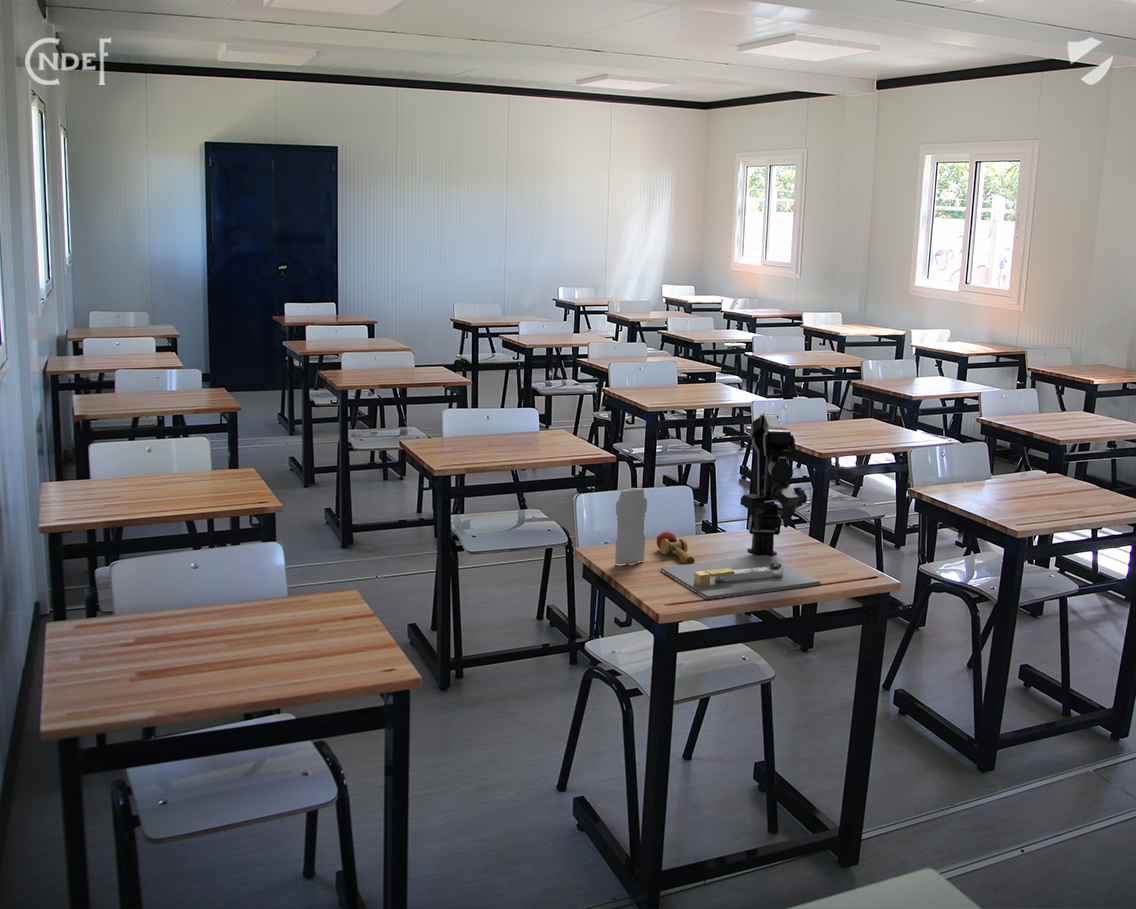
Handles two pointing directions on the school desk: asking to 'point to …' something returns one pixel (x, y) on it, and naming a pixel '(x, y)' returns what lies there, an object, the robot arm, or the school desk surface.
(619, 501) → the tall pale column
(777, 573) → the link
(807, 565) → the school desk surface
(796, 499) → the robot arm
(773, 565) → the glossy black ball
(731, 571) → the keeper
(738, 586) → the base plate
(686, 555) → the kendama
